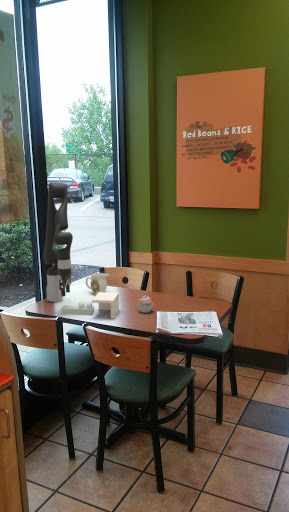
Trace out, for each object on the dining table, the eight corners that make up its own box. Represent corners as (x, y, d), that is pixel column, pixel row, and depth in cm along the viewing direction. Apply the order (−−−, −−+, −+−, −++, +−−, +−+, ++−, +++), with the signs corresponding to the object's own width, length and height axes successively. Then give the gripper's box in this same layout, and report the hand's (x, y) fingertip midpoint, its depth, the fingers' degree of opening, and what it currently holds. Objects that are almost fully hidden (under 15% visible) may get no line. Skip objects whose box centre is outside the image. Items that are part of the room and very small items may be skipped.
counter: (92, 317, 232) (92, 299, 230) (99, 309, 247) (98, 292, 245) (113, 318, 230) (113, 300, 228) (118, 309, 246) (118, 292, 244)
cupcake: (142, 315, 236) (142, 298, 235) (134, 310, 244) (134, 294, 243) (156, 312, 241) (156, 296, 239) (148, 308, 249) (148, 292, 247)
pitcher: (90, 290, 289) (89, 270, 286) (113, 292, 282) (112, 273, 279) (81, 294, 279) (81, 274, 276) (105, 297, 272) (105, 276, 269)
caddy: (61, 314, 239) (60, 303, 238) (64, 310, 245) (63, 300, 244) (91, 315, 237) (91, 304, 236) (94, 311, 243) (93, 301, 242)
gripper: (62, 264, 244) (63, 291, 247) (54, 269, 230) (55, 297, 233) (74, 264, 243) (75, 291, 246) (67, 269, 229) (68, 297, 232)
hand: (65, 294), depth 240 cm, fingers open, 8 cm apart
